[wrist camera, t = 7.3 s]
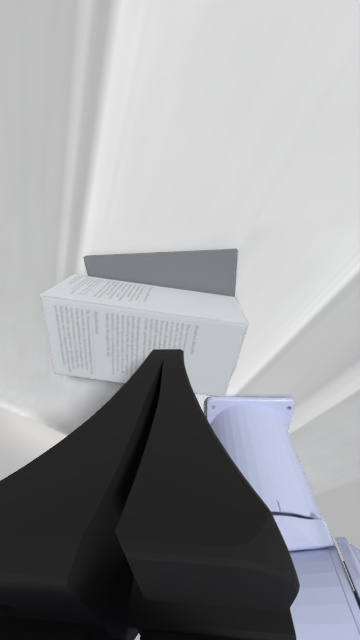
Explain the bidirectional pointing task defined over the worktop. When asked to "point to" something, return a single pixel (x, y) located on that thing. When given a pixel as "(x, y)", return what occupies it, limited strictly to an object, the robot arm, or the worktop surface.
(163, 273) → the mat
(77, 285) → the skincare box
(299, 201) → the worktop surface
